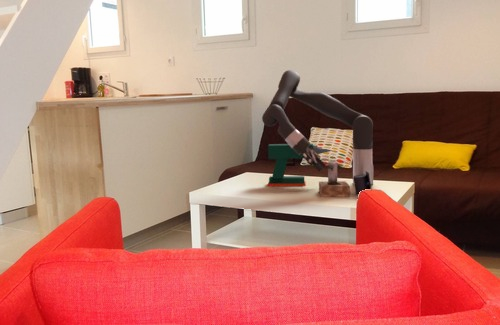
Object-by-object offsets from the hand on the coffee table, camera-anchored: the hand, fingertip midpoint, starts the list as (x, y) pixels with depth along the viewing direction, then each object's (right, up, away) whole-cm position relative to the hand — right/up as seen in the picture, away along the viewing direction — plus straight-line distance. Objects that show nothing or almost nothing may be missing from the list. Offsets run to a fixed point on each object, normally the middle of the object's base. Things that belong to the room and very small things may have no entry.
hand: (322, 168), depth 206 cm
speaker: (+17, -12, -4) cm, 21 cm away
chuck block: (+5, -11, -1) cm, 12 cm away
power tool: (-7, -9, +24) cm, 26 cm away
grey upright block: (+5, -10, 0) cm, 11 cm away
